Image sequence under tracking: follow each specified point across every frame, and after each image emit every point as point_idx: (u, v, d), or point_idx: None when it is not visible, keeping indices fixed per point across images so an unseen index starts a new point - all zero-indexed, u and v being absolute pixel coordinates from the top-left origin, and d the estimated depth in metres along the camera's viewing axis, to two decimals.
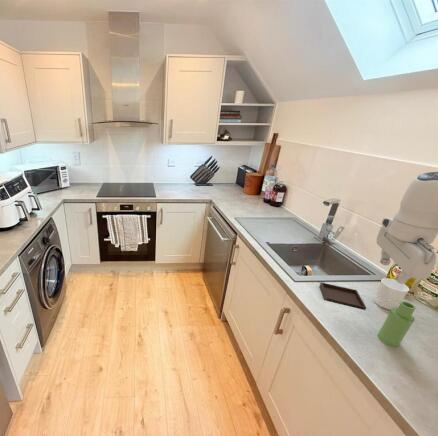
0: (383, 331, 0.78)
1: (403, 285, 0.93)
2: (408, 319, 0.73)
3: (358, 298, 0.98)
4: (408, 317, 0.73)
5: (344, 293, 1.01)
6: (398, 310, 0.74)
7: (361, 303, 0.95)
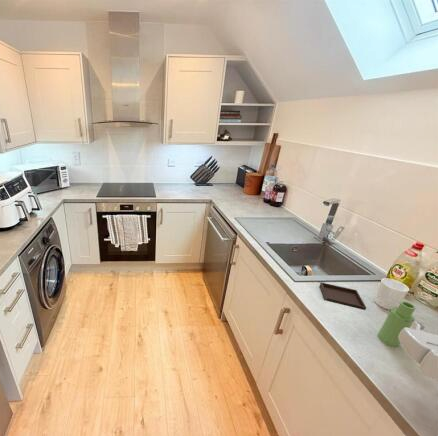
0: (383, 331, 0.78)
1: (403, 285, 0.93)
2: (408, 319, 0.73)
3: (358, 298, 0.98)
4: (408, 317, 0.73)
5: (344, 293, 1.01)
6: (398, 310, 0.74)
7: (361, 303, 0.95)
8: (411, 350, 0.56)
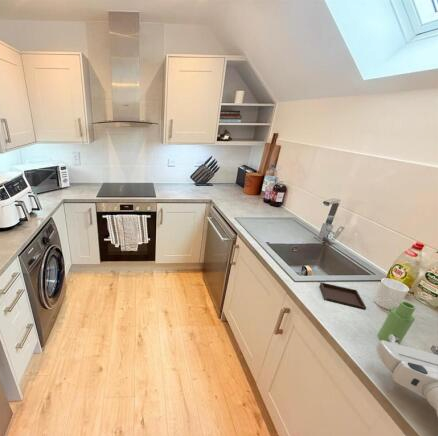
0: (383, 331, 0.78)
1: (403, 285, 0.93)
2: (408, 319, 0.73)
3: (358, 298, 0.98)
4: (408, 317, 0.73)
5: (344, 293, 1.01)
6: (398, 310, 0.74)
7: (361, 303, 0.95)
8: (386, 361, 0.64)
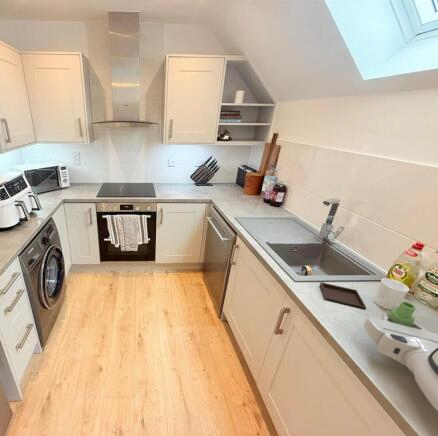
0: None
1: (403, 285, 0.93)
2: (408, 319, 0.73)
3: (358, 298, 0.98)
4: (408, 317, 0.73)
5: (344, 293, 1.01)
6: (398, 310, 0.74)
7: (361, 303, 0.95)
8: (372, 334, 0.72)
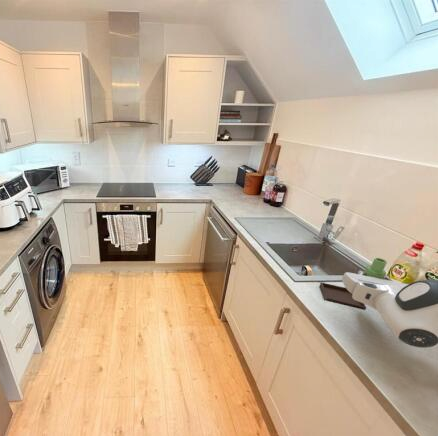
0: None
1: None
2: (380, 273, 0.82)
3: None
4: (380, 271, 0.82)
5: (344, 293, 1.01)
6: (372, 265, 0.83)
7: (361, 303, 0.95)
8: (348, 285, 0.81)
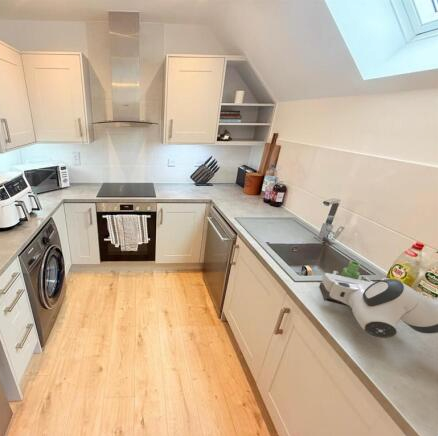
0: None
1: None
2: (355, 274, 0.92)
3: None
4: (355, 273, 0.92)
5: None
6: (348, 268, 0.94)
7: None
8: (326, 285, 0.91)
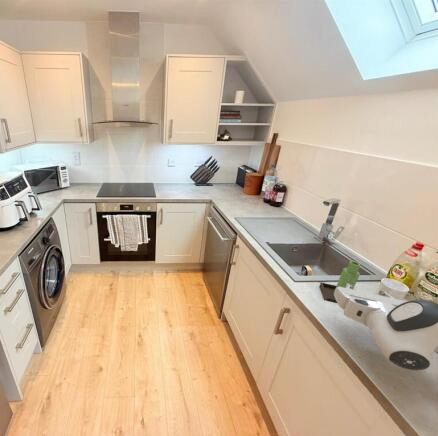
0: (337, 286, 0.98)
1: (403, 285, 0.93)
2: (355, 274, 0.92)
3: None
4: (355, 273, 0.92)
5: None
6: (348, 268, 0.94)
7: None
8: (340, 301, 0.79)
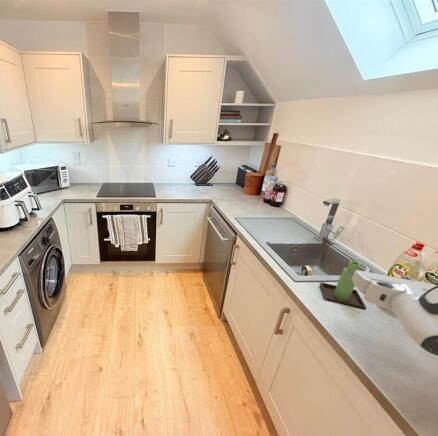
0: (337, 286, 0.98)
1: None
2: None
3: (358, 298, 0.98)
4: None
5: None
6: (348, 268, 0.94)
7: (361, 303, 0.95)
8: (359, 285, 0.72)
